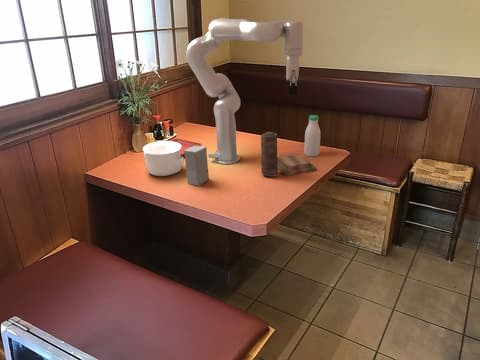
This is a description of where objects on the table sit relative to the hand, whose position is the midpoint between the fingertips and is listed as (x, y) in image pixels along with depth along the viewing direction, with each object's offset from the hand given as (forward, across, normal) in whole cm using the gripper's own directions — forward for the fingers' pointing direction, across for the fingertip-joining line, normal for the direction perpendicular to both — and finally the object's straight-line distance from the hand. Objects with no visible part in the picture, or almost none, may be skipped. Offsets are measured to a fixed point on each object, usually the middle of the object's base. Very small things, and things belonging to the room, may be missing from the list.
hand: (292, 92), depth 183 cm
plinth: (+35, +1, +1) cm, 35 cm away
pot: (+35, +7, -60) cm, 70 cm away
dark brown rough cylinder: (+36, +10, -10) cm, 39 cm away
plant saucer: (+36, -20, -58) cm, 71 cm away
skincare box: (+36, +18, -42) cm, 58 cm away
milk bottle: (+36, -15, +11) cm, 40 cm away
